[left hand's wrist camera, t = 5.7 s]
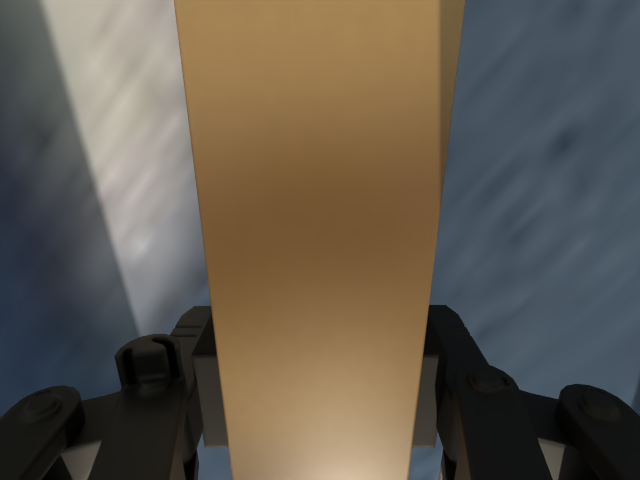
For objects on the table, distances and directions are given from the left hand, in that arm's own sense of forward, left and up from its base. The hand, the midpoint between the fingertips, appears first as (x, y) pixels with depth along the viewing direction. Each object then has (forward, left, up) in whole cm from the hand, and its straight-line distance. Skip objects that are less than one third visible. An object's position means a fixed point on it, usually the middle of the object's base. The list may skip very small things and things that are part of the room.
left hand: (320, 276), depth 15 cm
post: (+15, +11, -1) cm, 19 cm away
